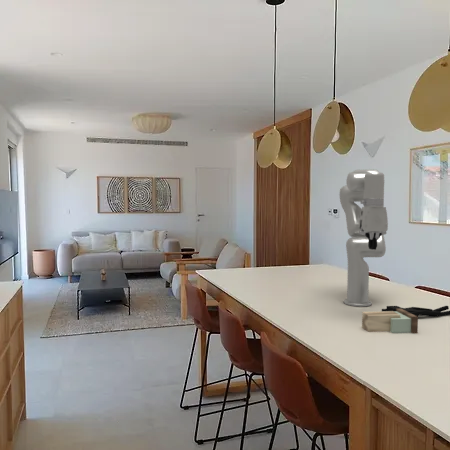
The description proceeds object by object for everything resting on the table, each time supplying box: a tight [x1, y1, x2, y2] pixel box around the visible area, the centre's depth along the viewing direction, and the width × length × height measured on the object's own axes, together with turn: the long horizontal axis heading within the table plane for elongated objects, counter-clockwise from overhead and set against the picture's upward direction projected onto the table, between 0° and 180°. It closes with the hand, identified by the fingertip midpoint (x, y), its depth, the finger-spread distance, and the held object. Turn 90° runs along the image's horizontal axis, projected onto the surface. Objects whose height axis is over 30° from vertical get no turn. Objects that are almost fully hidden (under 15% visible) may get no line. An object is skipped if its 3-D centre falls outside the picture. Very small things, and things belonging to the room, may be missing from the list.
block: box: [389, 311, 412, 334], centre depth 158 cm, size 10×7×5 cm, turn 5°
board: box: [396, 309, 419, 334], centre depth 159 cm, size 20×29×7 cm
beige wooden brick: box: [361, 310, 400, 333], centre depth 157 cm, size 6×12×6 cm, turn 95°
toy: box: [381, 305, 450, 318], centre depth 178 cm, size 10×5×30 cm
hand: (372, 249), depth 170 cm, fingers closed
